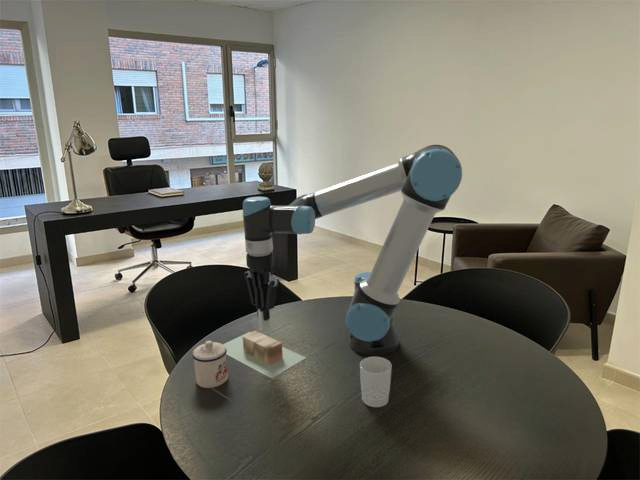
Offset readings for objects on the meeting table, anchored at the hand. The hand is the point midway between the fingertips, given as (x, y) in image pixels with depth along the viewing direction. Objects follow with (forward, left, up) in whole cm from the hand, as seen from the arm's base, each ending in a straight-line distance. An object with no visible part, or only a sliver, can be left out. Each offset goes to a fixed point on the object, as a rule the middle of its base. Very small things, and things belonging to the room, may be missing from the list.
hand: (264, 328), depth 136 cm
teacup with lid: (+3, +16, -10) cm, 19 cm away
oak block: (+7, 0, -7) cm, 10 cm away
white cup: (-37, -4, -10) cm, 38 cm away
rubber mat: (+3, 0, -9) cm, 10 cm away
